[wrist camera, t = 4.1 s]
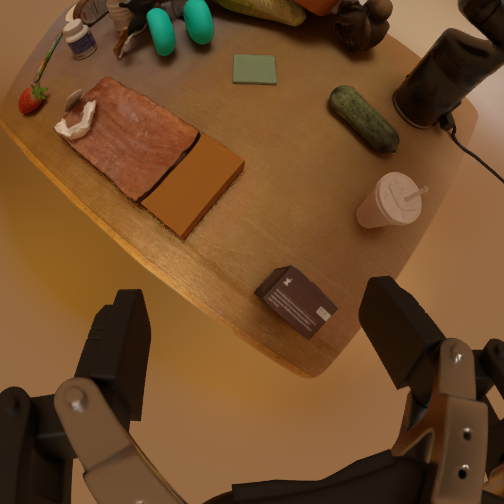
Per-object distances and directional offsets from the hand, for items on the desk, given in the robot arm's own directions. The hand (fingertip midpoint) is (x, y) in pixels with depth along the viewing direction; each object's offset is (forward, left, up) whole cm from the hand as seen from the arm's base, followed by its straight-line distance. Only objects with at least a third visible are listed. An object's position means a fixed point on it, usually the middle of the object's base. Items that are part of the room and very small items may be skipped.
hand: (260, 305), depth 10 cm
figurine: (+16, -50, -15) cm, 54 cm away
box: (-5, +1, -27) cm, 28 cm away
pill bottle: (+33, -47, -27) cm, 64 cm away
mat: (-2, -36, -27) cm, 45 cm away
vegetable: (-19, -25, -27) cm, 42 cm away
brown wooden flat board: (+15, -20, -27) cm, 37 cm away
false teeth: (+25, -24, -21) cm, 40 cm away
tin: (+34, -63, -27) cm, 76 cm away
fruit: (+45, -33, -26) cm, 62 cm away
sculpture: (-22, -46, -27) cm, 58 cm away
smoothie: (-18, -10, -27) cm, 34 cm away
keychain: (+29, -28, -23) cm, 46 cm away
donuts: (+11, -43, -27) cm, 52 cm away
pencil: (+45, -60, -26) cm, 79 cm away
